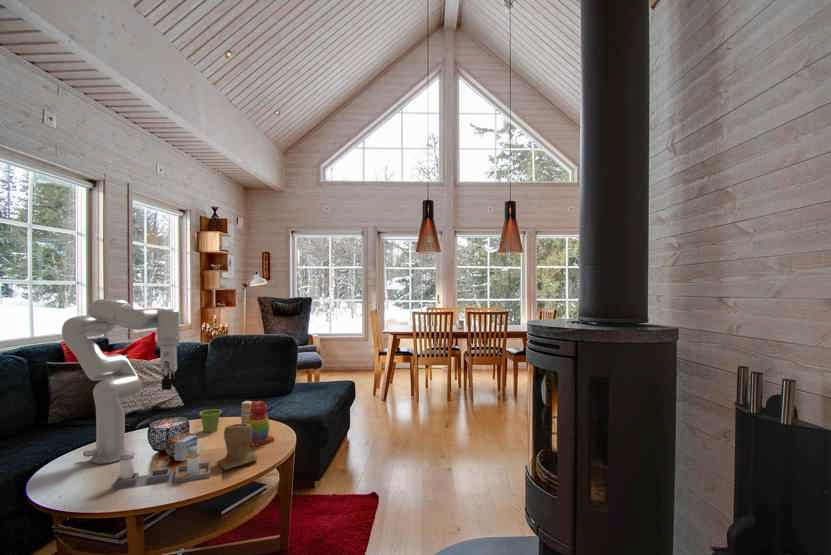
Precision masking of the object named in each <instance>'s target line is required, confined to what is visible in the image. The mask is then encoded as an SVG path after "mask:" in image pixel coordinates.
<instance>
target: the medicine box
mask: <svg viewBox="0 0 831 555" xmlns="http://www.w3.org/2000/svg"><path fill="white" fill-rule="evenodd" d="M187 436H188V437H187ZM187 436H185V438H184V437H182V438H180V439H178V440H176V441H175V442H174V461H180V462H185V461H187V449H188V448H190V447H198V436H197V435H187Z"/></svg>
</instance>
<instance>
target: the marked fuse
mask: <svg viewBox="0 0 831 555" xmlns="http://www.w3.org/2000/svg"><path fill="white" fill-rule="evenodd" d="M199 463H200V446H197V447H190V448H188V449H187V460H186V465H187V470H186V476H187V475H195V474H200V468H199Z"/></svg>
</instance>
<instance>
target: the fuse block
mask: <svg viewBox="0 0 831 555" xmlns="http://www.w3.org/2000/svg"><path fill="white" fill-rule="evenodd" d="M171 469H172V468H170V467H169V468H163V469H155V470H151V471H150V474H145V475H140V474H139V472H134V479H129V480H121V481H120V474H119V475H118V476H117V478H116V479H115V481H114V483H113V485H112V487H111V489H110V492H112V491H121V490H126V489H127V490H128V489H135V488H141V487H142V488H143V487H149V486H155V485H156V486H157V485H161V484H162V485H163V484H169V483H172V482H173V479H174V475H175V471H172V470H171Z"/></svg>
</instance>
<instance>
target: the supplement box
mask: <svg viewBox="0 0 831 555" xmlns="http://www.w3.org/2000/svg"><path fill="white" fill-rule="evenodd" d="M253 401H255V400H252V401H251V400H245V401H243V402H241V420H240V421H241V423H240V424H248V420H249V418H250V416H251V415H252V413H251V406H252V402H253ZM255 402H257V401H255Z"/></svg>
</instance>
